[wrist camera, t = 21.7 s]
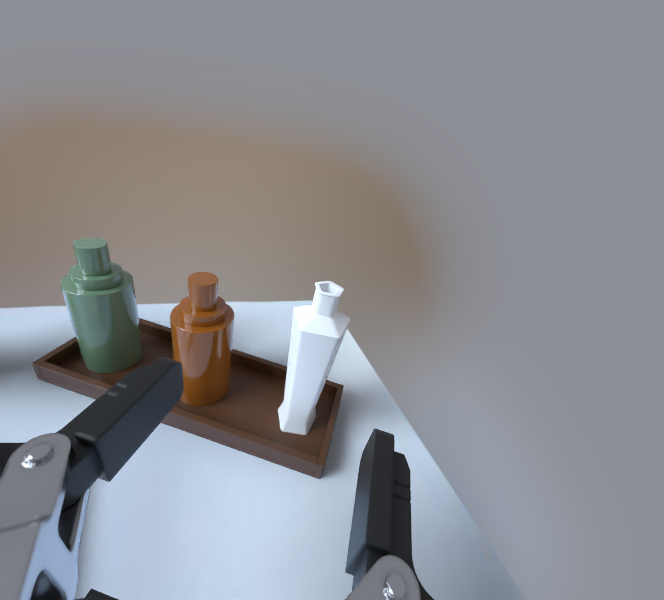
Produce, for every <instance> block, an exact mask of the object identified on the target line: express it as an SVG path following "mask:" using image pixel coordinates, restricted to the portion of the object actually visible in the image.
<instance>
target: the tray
mask: <svg viewBox="0 0 664 600" xmlns="http://www.w3.org/2000/svg"><path fill="white" fill-rule="evenodd" d="M139 323H140V330H141V337H142V344H143V355H142V357H141V359H140V360H139V361H138V362H137V363H135V364H134V365H133V366H131V367H129V368H127V369H124V370H122V371H118V372H113V373H97V372H93V371H91V370H89V369H87V368H86V367H85V365H84V362H83V359H82V356H81V352H80V349H79V346H78V342H77V339H76V337H75V338H73V339H71V340H70V341H68V342H66V343H65V344H63V345H61V346H60V347H58V348H56V349H55V350H53V351H51V352H50V353H48V354H46V355H45V356H43V357H41V358H40V359H38V360H36V361H35V362H33V363H32V365H33V368H34V370H35V373H36V375H37V377H38V379H40V380H43V381H46V382H49V383H52V384H54V385H57V386H60V387H63V388H66V389H68V390H71V391H74V392H77V393H80V394H82V395H85V396H88V397H91V398H94V399H96V400H97V399H98V398H99V397H100V396H101V395H103V394H105V393H106V391H107V390H108V389H110V388H111V387H112V386H113V385H116V383H117V382H118V381H119V380H120V379H121V378H123V377H124V376H125V375H126V374H127V373H129V372H131V371H133V370H135V369H137V368H139V367H141V366H143V365H144V366H147V367H149V366H150V365H151V364H153V363H154V362H155V361H156V360H157V359H158V358H160V357H166V358H169V359H172V360H173V348H172V336H171V328H168V327H165V326H162V325H159V324H156V323H153V322H150V321H147V320H144V319H141V318H139ZM286 374H287V367H286V366H283V365H280V364H277V363H274V362H271V361H268V360H265V359H262V358H259V357H256V356H253V355H250V354H247V353H244V352H241V351H237V350H234V349H232V360H231V376H230V387H229V390H228V392H227V394H226V395H225V396H224V397H223V398H222V399H221V400H219V401H217V402H216V403H213V404H211V405H207V406H191V405H188V404H185V403H184V402H182V401H181V400H179V401H178V403H177V404H176V405H175V406H174V407H173V408H172V410H171V411H170V412H169V413H168V414H167V415H166V417H165V418H164V419H163V420H162V421H161V423H164V424H167V425H169V426H172V427H175V428H178V429H181V430H183V431H186V432H189V433H192V434H195V435H197V436H200V437H203V438H206V439H209V440H211V441H214V442H217V443H220V444H223V445H225V446H228V447H231V448H234V449H237V450H239V451H242V452H245V453H248V454H251V455H253V456H256V457H259V458H262V459H265V460H268V461H270V462H273V463H276V464H279V465H282V466H284V467H287V468H290V469H293V470H296V471H298V472H301V473H304V474H307V475H310V476H312V477H315V478H318V479H319V478H320V476H321V474H322V471H323V468H324V465H325V461H326V457H327V453H328V449H329V444H330V440H331V436H332V432H333V428H334V424H335V420H336V415H337V411H338V407H339V403H340V399H341V395H342V391H343V385H341V384H337V383H334V382H331V381H328V380H326V382H325V384H324V387H323V389H322V392H321V394H320V397H319V399H318V402H317V404H316V407H315V408H316V418H315V420H314V422H313V424H312V426H311V428H310V430H309V432H308V434H307V435H301V434H295V433H289V432H283V431H282V430H281V429H280V422H279V415H278V409H279V407H280V406H281V404H282V403H283V401H284V393H285V384H286Z"/></svg>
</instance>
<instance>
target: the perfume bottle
mask: <svg viewBox="0 0 664 600" xmlns="http://www.w3.org/2000/svg"><path fill="white" fill-rule="evenodd" d="M315 286H316V290H315V295H314V300H313V303H312V304H308V305H302V306H296V307H294V309H293V318H292V327H291V337H290V346H289V355H288V365H287V374H286V384H285V393H284V401H283V403H282V404H281V406H280V407H279V409H278V415H279V422H280V429H281V430H282V431H283V432H289V433H295V434H301V435H307V434H308V432H309V430H310V428H311V426H312V424H313V422H314V420H315V418H316V408H315V407H316V404H317V402H318V399H319V397H320V394H321V392H322V389H323V387H324V384H325V382H326V379H327V377H328V374H329V372H330V369H331V367H332V364H333V362H334V359H335V357H336V354H337V352H338V349H339V347H340V344H341V342H342V339H343V337H344V334H345V332H346V329H347V327H348V324H349V322H350V319H349V318H348V317H347V316H345V315H344V314H342V313H340V312H339V311H337V310H336V308H337V305H338V301H339V298H340V295H341V293H342V292H343V290H344V289H343V288H342V287H340V286H338V285H336V284H335V283H333V282H331V281H323V282H316V283H315Z"/></svg>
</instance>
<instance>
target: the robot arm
mask: <svg viewBox="0 0 664 600" xmlns="http://www.w3.org/2000/svg"><path fill="white" fill-rule="evenodd" d="M183 390H184V382H183V368H182V363H180V362H178V361H175V360H172V359H169V358H166V357H160V358H158V359H157V360H156V361H155V362H154V363H153V364H151V365H150V366H149V367H147V366H144V365H143V366H141V367H139V368H137V369H135V370H133V371H131V372H129V373H127V374H126V375H125V376H124V377H123V378H121V379H120V380H119V381H118V382H117V383H116V385H113V386H112V387H111V388H110V389H108V390H107V391H106V393H105V394H103V395H101V396H100V397H99V398H98V399H97V400H95V401H94V402H93V403H92V404H91V405H90V406H88V407H87V408H86V409H85V410H84V411H82V412H81V413H80V414H79V415H78V416H77V417H75V418H74V419H73V420H72V421H71V422H70V423H68V424H67V425H66V426H65V427H63V428H62V429H61V430H59V431H58V432H56V433H50V434H45V435H41V436H38V437H36V438H33V439H31V440H29V441H28V442H26V443H0V600H118V599H115V598H113V597H110V596H108V595H106V594H103V593H101V592H98V591H96V590H93V589H91V590H90V591H89V593H88V594H87V596H86V597H85V598H80V599H75V596H76V590H77V584H78V549H79V544H80V539H81V533H82V528H83V523H84V518H85V512H86V507H87V502H88V497H89V490H90V488H89V487H90V486H91V485H92V484H93V483H94V482H95V481H96V480H97V478H100V479H103V480H105V481H108V482H110V481H111V480H112V478H113V477H114V476H115V475H116V474H117V473H118V471H119V470H120V469H121V468H122V467H123V466H124V464H125V463H126V462H127V461H128V460H129V459H130V457H131V456H132V455H133V454H134V453H135V452H136V450H137V449H138V448H139V447H140V446H141V445H142V443H143V442H144V441H145V440H146V439H147V438H148V436H149V435H150V434H151V433H152V432H153V431H154V429H155V428H156V427H157V426H158V425H159V424H160V422H161V421H162V420H163V419H164V418H165V417H166V415H167V414H168V413H169V412H170V411H171V410H172V408H173V407H174V406H175V405H176V404H177V403H178V401H179V400H180V398H181V396H182V394H183ZM410 500H411V492H410V469H409V466H408V463H407V461H406V458H405V455H404V454H401V453H398V452H395V451H394V435H393V434H390V433H387V432H384V431H381V430H378V429H374V430H373V432H372V434H371V436H370V438H369V440H368V442H367V444H366V446H365V449H364V451H363V454H362V457H361V461H360V467H359V474H358V481H357V489H356V496H355V504H354V511H353V518H352V526H351V533H350V541H349V548H348V556H347V563H346V571H345V572H346V573H348V574H351V575H354V579H353V587H352V592H351V593H350V594H349V595H348V597H347V598H346V599H345V600H434V599H433V598H432V597H431V596H430V595H429V594H428V593H427V592H426V591H425V589H424V588H423V586H422V585H421V583H420V581H419V579H418V577H417V575H416V573H415V570H414V566H413V561H412V541H411V503H410Z"/></svg>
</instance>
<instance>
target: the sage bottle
mask: <svg viewBox="0 0 664 600" xmlns="http://www.w3.org/2000/svg"><path fill="white" fill-rule="evenodd" d="M73 247H74V251H75V255H76V259H77V263H78V264H77V265H75V266H73V267H72V268H71V269H70V270H69V274H68V275H67V276H65V277H64V278H63V279H62V280H61V283H60V284H61V288H62V292H63V295H64V299H65V302H66V306H67V309H68V312H69V316H70V319H71V322H72V326H73V329H74V332H75V336H76V339H77V342H78V346H79V349H80V352H81V356H82V359H83V362H84V365H85V367H86V368H87V369H89V370H91V371H93V372H97V373H113V372H118V371H122V370H124V369H127V368H129V367H131V366H133V365H134V364H135V363H137V362H138V361H139V360H140V359H141V357H142V355H143V344H142V337H141V330H140V323H139V317H138V310H137V303H136V296H135V290H134V283H133V277H132V276H131V274H129V273H128V272H127V271H125V270H122V268H121V267H120V265H118V264H116V263H113V262H111V260H110V255H109V250H108V244H107V242H106V241H105V240H103V239H99V238H83V239H78V240H76V241H74V242H73Z"/></svg>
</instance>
